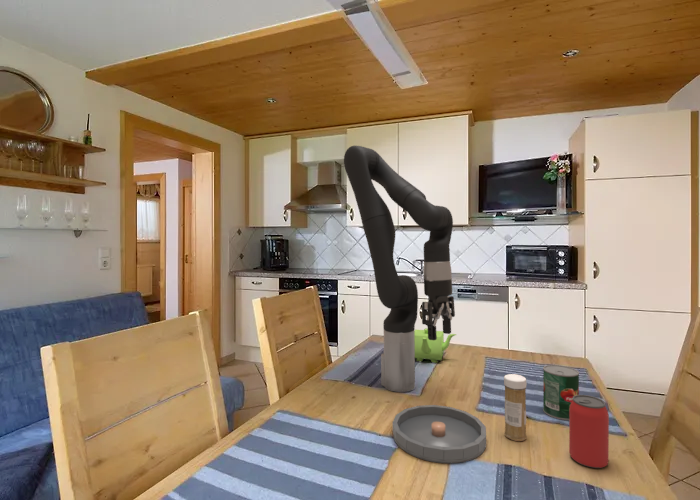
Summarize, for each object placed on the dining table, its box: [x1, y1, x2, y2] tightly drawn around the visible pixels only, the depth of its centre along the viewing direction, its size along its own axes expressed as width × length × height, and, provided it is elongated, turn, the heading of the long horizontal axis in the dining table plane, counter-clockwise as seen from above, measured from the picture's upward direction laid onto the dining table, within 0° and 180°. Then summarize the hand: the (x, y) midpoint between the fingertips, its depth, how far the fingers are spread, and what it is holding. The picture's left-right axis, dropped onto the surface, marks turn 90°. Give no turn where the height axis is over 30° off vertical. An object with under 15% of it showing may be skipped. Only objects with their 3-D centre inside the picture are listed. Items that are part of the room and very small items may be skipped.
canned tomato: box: [542, 364, 580, 421], centre depth 96 cm, size 8×8×11 cm
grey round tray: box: [392, 404, 487, 464], centre depth 85 cm, size 20×20×3 cm
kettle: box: [414, 327, 457, 364], centre depth 140 cm, size 15×14×11 cm
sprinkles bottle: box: [503, 373, 527, 442], centre depth 85 cm, size 5×5×13 cm
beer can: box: [568, 394, 610, 469], centre depth 76 cm, size 7×7×12 cm
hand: (439, 336), depth 105 cm, fingers open, 8 cm apart
